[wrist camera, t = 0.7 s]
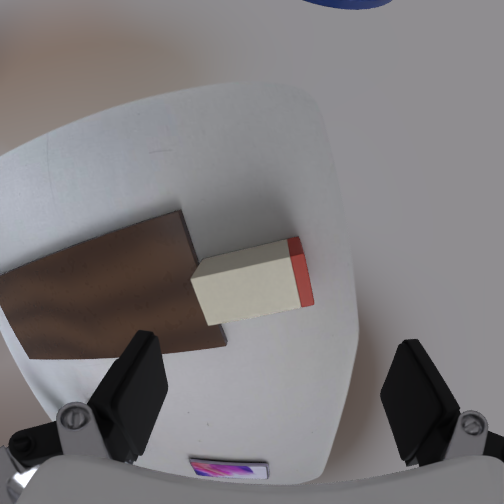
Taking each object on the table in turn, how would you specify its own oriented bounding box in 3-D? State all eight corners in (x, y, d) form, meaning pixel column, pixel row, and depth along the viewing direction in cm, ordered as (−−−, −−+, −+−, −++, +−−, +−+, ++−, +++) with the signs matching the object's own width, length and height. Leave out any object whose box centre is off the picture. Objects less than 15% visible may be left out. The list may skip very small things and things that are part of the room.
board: (-8, 278, 33) (-11, 280, 32) (181, 209, 28) (178, 211, 27) (32, 356, 38) (29, 359, 37) (227, 341, 33) (226, 346, 32)
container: (202, 258, 29) (189, 278, 25) (298, 236, 28) (304, 253, 23) (217, 300, 31) (208, 326, 26) (308, 281, 30) (314, 305, 25)
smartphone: (269, 479, 43) (196, 475, 45) (269, 475, 44) (197, 472, 46) (268, 465, 41) (188, 461, 42) (268, 462, 42) (189, 457, 43)
